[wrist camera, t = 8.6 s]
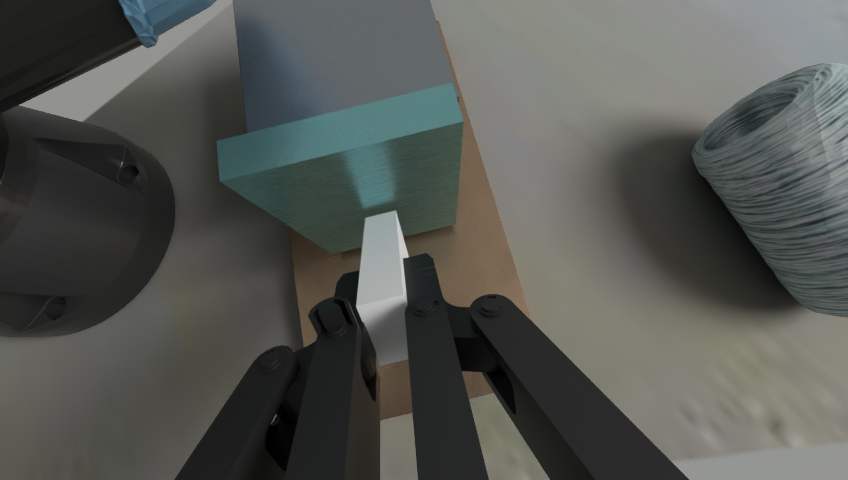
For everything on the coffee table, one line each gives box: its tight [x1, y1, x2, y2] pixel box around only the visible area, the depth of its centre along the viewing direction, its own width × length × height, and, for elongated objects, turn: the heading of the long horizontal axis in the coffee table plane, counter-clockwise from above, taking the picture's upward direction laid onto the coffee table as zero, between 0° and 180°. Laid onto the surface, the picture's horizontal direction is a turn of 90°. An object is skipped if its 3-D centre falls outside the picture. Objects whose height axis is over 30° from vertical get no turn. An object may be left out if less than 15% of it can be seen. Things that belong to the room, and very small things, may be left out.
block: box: [216, 83, 464, 254], centre depth 18 cm, size 14×8×11 cm, turn 13°
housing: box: [233, 0, 532, 420], centre depth 20 cm, size 27×14×9 cm, turn 13°
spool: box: [692, 63, 848, 317], centre depth 19 cm, size 14×10×10 cm
